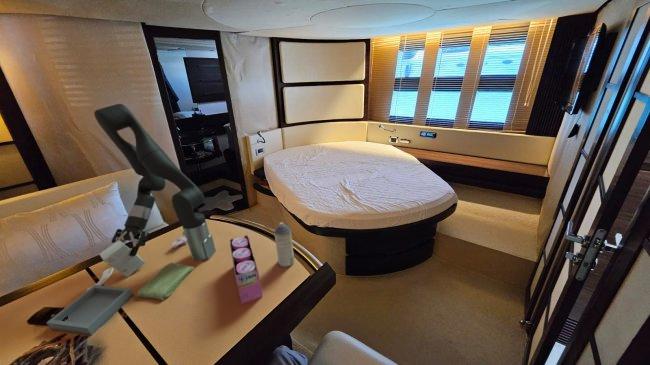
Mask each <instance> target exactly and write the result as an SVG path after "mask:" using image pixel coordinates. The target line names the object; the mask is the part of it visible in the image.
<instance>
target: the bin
mask: <svg viewBox="0 0 650 365" xmlns="http://www.w3.org/2000/svg"><path fill="white" fill-rule="evenodd" d="M92 286H93V285H92ZM89 288H90V289H89V290H88V291H86V290H85V292H83V293H82V294H81V295H79V297H77V298H76V299H75V300H74V301H72V302H71V303H69V304H68V305H67V306H66V307H64V309H62V310H60V311H59V312H58V313H57V314H55V315H54V316H53V317H52V318H50V319H49V320H47V322H46V325H47V326H48V327H49V328H50V331H57V332H64V333H71V334H77V335H78V334H79V335H85V336H93V335H94V334H95V333H96V332H97V331H98V330H99V329H100V328H101V327H102V326H103V325H104V324H105V323H107V322H108V321H109V320H110V318H112V317H113V316H114V315H115V314H116V313H117V312H118V311H119V310H120V309H121V308H122V307H123V306H124V305H125V304H126V303H127V302H129V301H130V300H131V298H133V297H134V292H133V291H132V289H131V288H128V287H126V288H125V287H118V286H111V285H110V286H107V285H101V286H100V285H95V284H94V286H93V287H91V286H90V287H89ZM67 316H68V319H67V320H65V321H62V320H63V319H64V318H65V317H67Z"/></svg>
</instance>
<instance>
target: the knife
mask: <svg viewBox="0 0 650 365" xmlns="http://www.w3.org/2000/svg"><path fill="white" fill-rule="evenodd" d="M114 269H115V268H113V267H112V266H111V267H110V268H107V269H105V270H103V271H102V275H101V277H100V278H99V281H97V283H95V284H94V285H100V286H103V284H105V282H106V281H107V280H109V278H110V277H111V275H112V274H113V272H114ZM94 285H91V286H90V287H87V288H86V289H85V292H86V291H88V290H89V289H90V288H91V287H93V286H94Z"/></svg>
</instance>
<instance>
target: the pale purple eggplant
mask: <svg viewBox="0 0 650 365" xmlns="http://www.w3.org/2000/svg"><path fill="white" fill-rule="evenodd" d="M186 243H188V242H187V239H186V236H185V233H184V231H182V235H181V236H180V237H178V238H177V239H176V241H173V242H172V243H171V244H170V248H171V249H172V248H173V249H175V248H176V247H178V246H181V245H185V244H186Z"/></svg>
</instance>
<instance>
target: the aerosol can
mask: <svg viewBox="0 0 650 365" xmlns="http://www.w3.org/2000/svg"><path fill="white" fill-rule="evenodd" d="M291 229H292V228H291V227H290V226H289V225H287V224H284V222H282V221H281V222H279V225H278V226H276V227H275V228H274V233H273V235H274V239H275V246H276V253H277V255H276V256H277V260H278V261H277V262H278V265H279V267H281V268H290V267H292V266H293V265H294V263H295V255H294V247H293V239H292V238H293V237H292V230H291Z"/></svg>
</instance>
